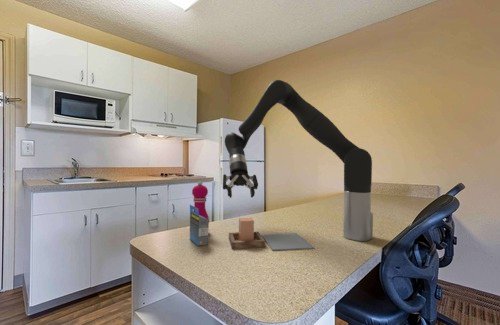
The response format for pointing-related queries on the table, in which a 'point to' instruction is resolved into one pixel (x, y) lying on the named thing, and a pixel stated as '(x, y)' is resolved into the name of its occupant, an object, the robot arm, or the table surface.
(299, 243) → the slate mat
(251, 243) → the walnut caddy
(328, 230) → the table surface
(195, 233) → the label tape cartridge
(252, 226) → the terracotta block
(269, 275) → the table surface
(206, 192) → the pepper mill
